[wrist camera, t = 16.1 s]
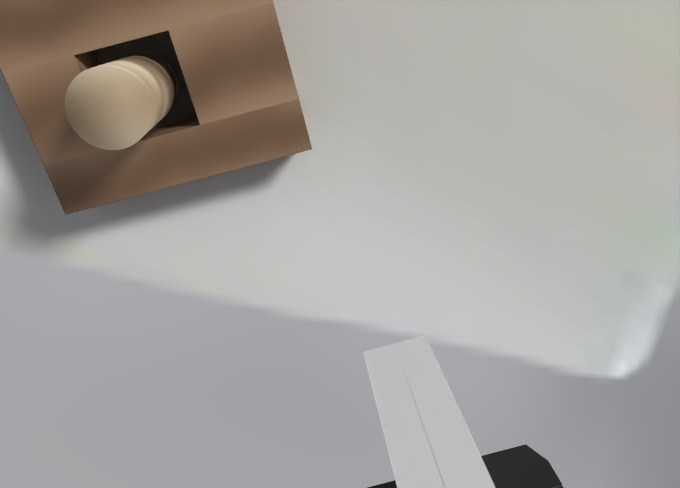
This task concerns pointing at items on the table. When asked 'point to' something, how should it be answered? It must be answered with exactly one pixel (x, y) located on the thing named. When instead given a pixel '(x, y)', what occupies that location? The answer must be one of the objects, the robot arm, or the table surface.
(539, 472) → the robot arm
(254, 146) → the board
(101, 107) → the peg
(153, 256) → the table surface
